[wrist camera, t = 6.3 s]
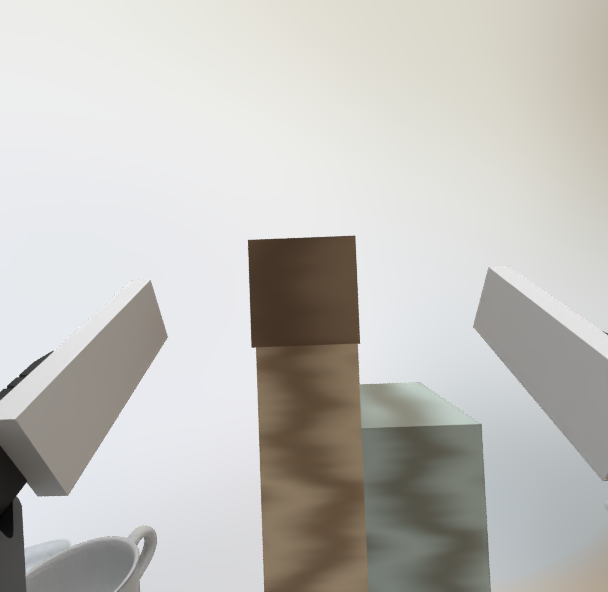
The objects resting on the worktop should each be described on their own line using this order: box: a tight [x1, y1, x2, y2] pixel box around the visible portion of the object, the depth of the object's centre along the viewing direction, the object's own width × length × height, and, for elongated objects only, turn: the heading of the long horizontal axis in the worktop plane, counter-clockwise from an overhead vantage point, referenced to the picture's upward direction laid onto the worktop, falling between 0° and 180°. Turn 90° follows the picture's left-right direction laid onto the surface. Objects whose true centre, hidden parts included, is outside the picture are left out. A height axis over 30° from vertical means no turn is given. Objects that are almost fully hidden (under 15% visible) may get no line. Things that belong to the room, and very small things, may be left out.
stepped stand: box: [256, 344, 491, 592], centre depth 23 cm, size 13×10×30 cm
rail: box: [248, 236, 360, 348], centre depth 22 cm, size 4×24×4 cm, turn 179°
